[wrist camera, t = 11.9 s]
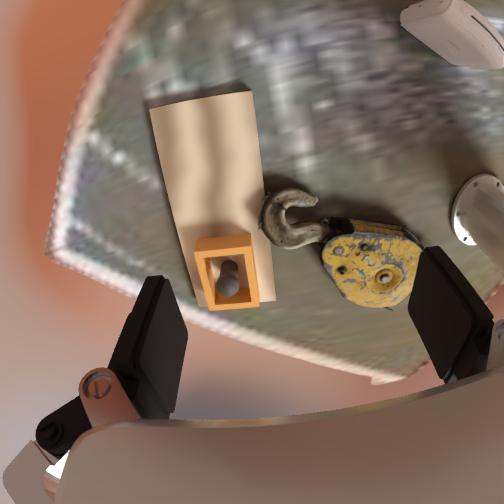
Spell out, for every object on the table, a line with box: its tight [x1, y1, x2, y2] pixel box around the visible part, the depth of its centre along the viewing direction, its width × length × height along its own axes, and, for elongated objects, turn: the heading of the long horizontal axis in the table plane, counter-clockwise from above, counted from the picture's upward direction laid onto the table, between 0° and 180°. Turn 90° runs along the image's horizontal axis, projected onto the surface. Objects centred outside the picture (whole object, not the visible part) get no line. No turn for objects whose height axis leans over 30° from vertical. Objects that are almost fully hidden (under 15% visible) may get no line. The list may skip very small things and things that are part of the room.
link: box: [194, 233, 260, 311], centre depth 41 cm, size 7×10×3 cm
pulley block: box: [257, 187, 424, 311], centre depth 40 cm, size 14×6×30 cm
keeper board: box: [149, 91, 276, 307], centre depth 37 cm, size 12×30×7 cm, turn 7°
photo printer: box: [400, 0, 504, 69], centre depth 20 cm, size 10×4×12 cm, turn 68°
